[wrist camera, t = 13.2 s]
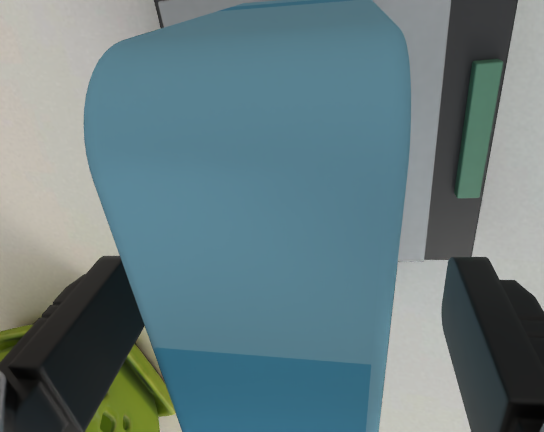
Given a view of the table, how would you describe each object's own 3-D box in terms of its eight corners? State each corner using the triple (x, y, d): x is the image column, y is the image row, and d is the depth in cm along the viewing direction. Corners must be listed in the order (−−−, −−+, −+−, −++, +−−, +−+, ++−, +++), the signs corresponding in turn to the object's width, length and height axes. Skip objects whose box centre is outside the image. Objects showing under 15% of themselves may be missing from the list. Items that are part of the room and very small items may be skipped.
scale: (506, -63, 15) (541, -70, 12) (459, 234, 22) (475, 270, 20) (171, -14, 18) (141, -12, 15) (226, 236, 25) (212, 268, 22)
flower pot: (-11, 311, 33) (-178, 471, 23) (119, 282, 29) (-11, 464, 18) (84, 408, 39) (-12, 570, 29) (202, 397, 35) (141, 582, 24)
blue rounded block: (246, 0, 15) (39, 60, 5) (367, -10, 14) (428, 37, 4) (271, 252, 21) (205, 508, 11) (356, 255, 20) (368, 534, 10)
